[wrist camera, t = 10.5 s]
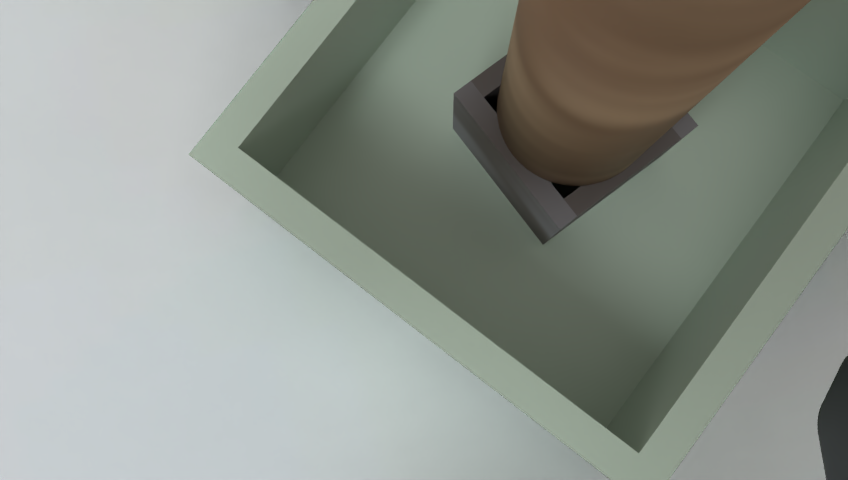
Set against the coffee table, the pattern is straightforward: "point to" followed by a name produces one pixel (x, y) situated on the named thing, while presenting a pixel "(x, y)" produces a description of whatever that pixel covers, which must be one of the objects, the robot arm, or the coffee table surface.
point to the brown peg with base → (600, 93)
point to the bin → (576, 244)
